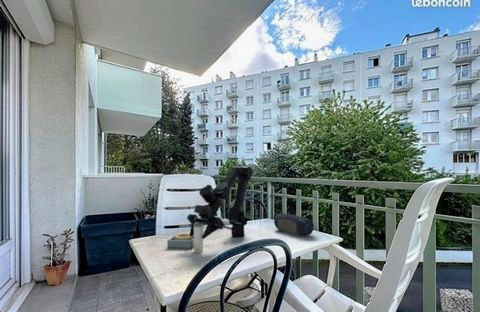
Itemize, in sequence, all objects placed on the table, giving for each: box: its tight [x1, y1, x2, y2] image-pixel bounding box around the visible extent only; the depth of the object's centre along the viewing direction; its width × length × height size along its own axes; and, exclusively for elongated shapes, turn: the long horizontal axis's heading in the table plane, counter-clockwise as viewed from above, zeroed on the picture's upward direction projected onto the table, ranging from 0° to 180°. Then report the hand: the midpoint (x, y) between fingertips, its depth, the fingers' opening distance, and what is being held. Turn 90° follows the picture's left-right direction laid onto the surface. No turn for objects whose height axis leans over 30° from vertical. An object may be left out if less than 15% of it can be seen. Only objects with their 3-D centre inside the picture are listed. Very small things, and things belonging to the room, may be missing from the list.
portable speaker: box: [273, 212, 315, 237], centre depth 147 cm, size 25×10×10 cm, turn 35°
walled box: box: [166, 232, 194, 250], centre depth 127 cm, size 12×12×4 cm
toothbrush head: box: [220, 217, 233, 226], centre depth 163 cm, size 5×7×25 cm
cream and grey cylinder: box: [193, 222, 204, 254], centre depth 116 cm, size 4×4×12 cm
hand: (196, 237), depth 115 cm, fingers open, 7 cm apart
